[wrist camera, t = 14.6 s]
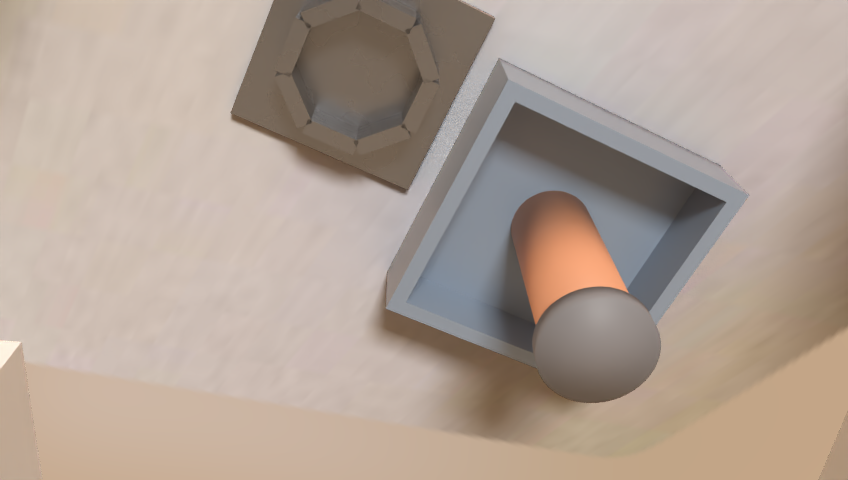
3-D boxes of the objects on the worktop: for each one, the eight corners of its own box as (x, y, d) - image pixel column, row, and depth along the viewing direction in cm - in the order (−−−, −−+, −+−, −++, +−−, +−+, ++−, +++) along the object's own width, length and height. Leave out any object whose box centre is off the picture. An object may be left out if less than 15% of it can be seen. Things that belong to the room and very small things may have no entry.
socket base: (232, 110, 41) (222, 125, 39) (304, -78, 37) (298, -73, 35) (407, 186, 43) (407, 205, 41) (493, 16, 39) (499, 27, 37)
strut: (487, 247, 44) (513, 377, 33) (532, 168, 42) (576, 280, 31) (567, 282, 45) (617, 418, 34) (615, 206, 43) (685, 327, 32)
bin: (387, 271, 45) (385, 308, 42) (499, 58, 40) (508, 79, 36) (590, 354, 48) (605, 395, 45) (720, 165, 43) (749, 195, 39)
